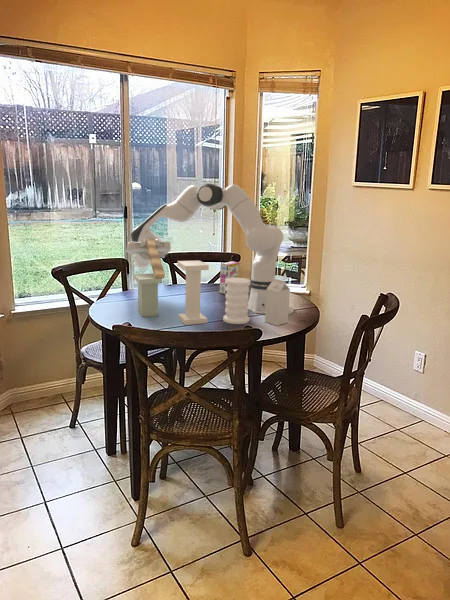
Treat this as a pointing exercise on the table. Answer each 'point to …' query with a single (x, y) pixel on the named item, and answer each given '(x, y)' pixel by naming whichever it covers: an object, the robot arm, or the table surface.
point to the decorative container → (237, 300)
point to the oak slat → (155, 258)
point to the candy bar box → (227, 274)
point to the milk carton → (277, 302)
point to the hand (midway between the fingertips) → (151, 241)
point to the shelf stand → (192, 292)
